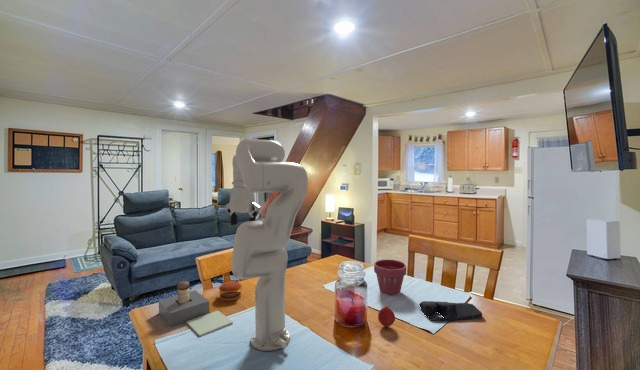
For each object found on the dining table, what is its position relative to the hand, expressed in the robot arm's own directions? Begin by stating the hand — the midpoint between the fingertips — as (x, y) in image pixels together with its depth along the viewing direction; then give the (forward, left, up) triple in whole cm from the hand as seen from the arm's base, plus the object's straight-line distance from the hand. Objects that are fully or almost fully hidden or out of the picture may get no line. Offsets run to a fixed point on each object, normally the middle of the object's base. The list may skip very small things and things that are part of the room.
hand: (243, 225), depth 123 cm
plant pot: (-37, -53, -33) cm, 72 cm away
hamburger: (+8, +2, -33) cm, 34 cm away
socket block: (+7, +22, -32) cm, 40 cm away
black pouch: (-64, -53, -33) cm, 89 cm away
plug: (+7, +22, -32) cm, 40 cm away
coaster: (-7, +18, -32) cm, 38 cm away
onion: (-53, -26, -33) cm, 67 cm away
